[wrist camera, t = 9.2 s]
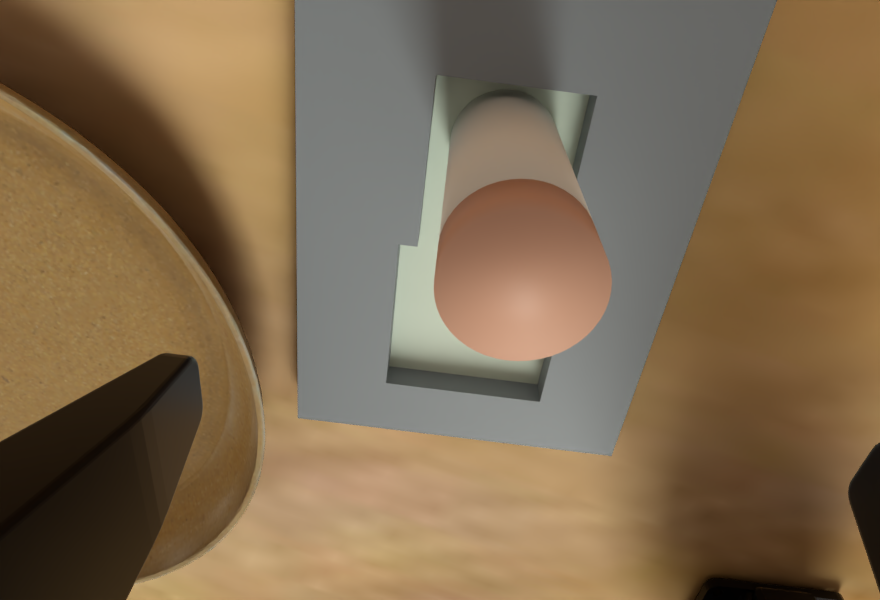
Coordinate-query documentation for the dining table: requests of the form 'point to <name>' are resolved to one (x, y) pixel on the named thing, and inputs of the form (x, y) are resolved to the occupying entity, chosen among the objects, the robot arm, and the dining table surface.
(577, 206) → the cream peg
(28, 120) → the plant saucer
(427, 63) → the keyhole plate
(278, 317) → the dining table surface
